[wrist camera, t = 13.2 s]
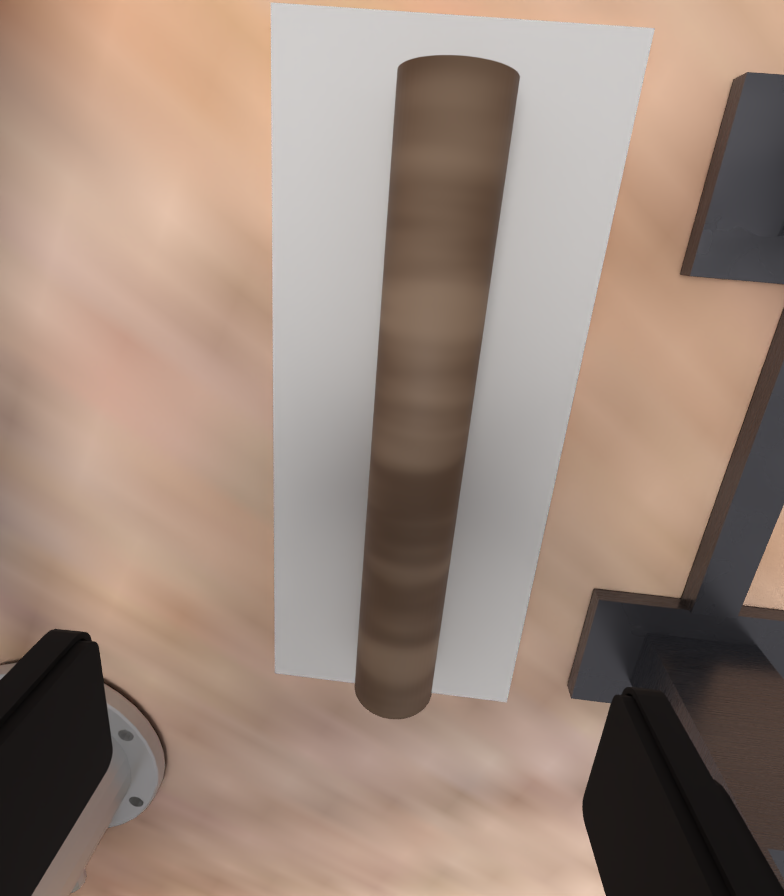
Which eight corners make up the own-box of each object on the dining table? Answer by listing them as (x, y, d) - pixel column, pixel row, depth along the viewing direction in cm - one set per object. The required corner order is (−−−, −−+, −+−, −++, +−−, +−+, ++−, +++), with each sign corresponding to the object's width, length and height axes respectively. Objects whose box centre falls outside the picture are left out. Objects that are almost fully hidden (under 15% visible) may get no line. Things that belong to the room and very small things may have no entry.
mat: (505, 692, 27) (506, 702, 27) (278, 664, 28) (274, 673, 27) (647, 35, 17) (654, 28, 16) (276, 10, 17) (270, 2, 17)
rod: (427, 658, 26) (435, 720, 23) (355, 656, 26) (353, 717, 23) (504, 96, 17) (535, 63, 14) (395, 84, 17) (400, 48, 14)
